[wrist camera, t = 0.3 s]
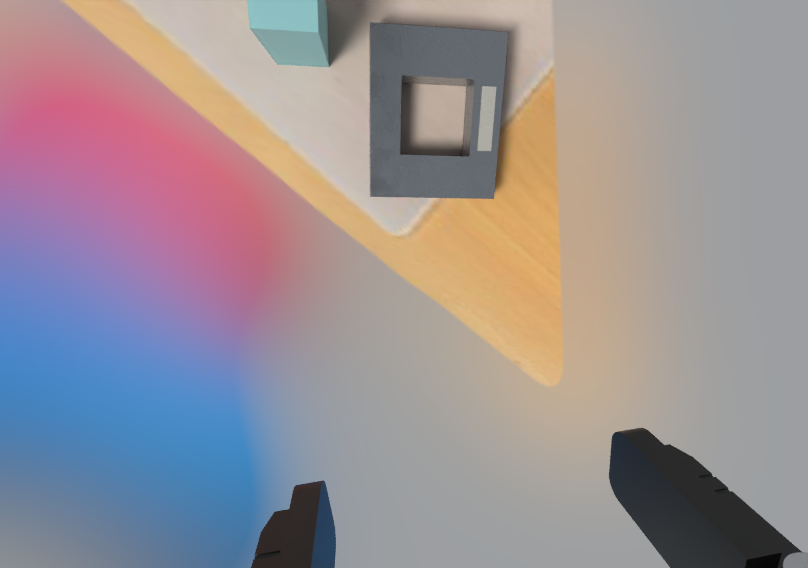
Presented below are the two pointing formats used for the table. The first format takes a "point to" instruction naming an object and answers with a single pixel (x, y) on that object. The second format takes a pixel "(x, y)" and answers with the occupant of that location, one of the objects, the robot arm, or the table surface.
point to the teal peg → (292, 30)
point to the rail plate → (441, 65)
